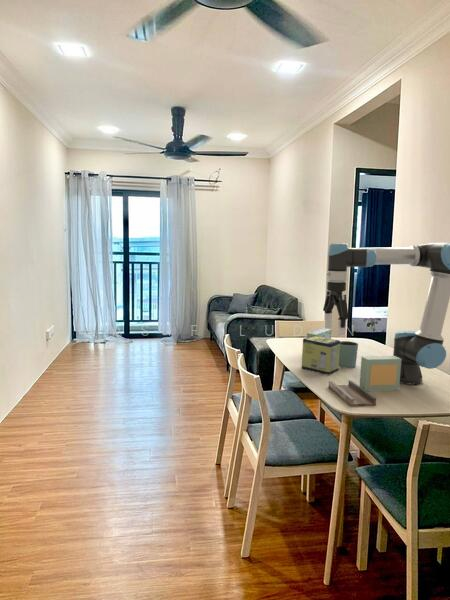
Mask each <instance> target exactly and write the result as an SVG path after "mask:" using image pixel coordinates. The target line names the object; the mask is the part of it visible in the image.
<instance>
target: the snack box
mask: <svg viewBox="0 0 450 600" xmlns="http://www.w3.org/2000/svg"><path fill="white" fill-rule="evenodd" d="M332 332H333V331H332V328H331V329H325V327H322V328H319V329H317V330H316V329H315V330H313V331H309V332H307V333H306V338H308V337H311V336H316V337H322V338H328V339H332Z"/></svg>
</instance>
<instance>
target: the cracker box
mask: <svg viewBox="0 0 450 600" xmlns="http://www.w3.org/2000/svg"><path fill="white" fill-rule="evenodd" d="M360 358H361V361H360V373H359V374H360V375H359V384H358V386H360V387H361V388H363V389H364V390H365V391H367V392H373V390H374V391H375V390H381V391H399V390H400V384H401V383H400V371H401V360H402V359H401V358H399V357H396V356H393V355H380V356H379V355H377V356H376V355H375V356H371V355H369V356H364V355H363V356H361V357H360ZM371 390H372V391H371ZM375 392H376V391H375Z"/></svg>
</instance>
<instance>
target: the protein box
mask: <svg viewBox="0 0 450 600" xmlns="http://www.w3.org/2000/svg"><path fill="white" fill-rule="evenodd" d="M340 342H341V340H339V339H332V338H331V339H328V338H322V337H316V336H311V337H308V338H307V337H305V338H302V354H301V355H302V357H301V370H305V369H306V371H309V370H310V371H311V372H313V371H314V373H317V372H318V374H323V375H326V376H331V375H332V374H334V373H337V372H338V371H339V369H340V366H339V350H340ZM310 371H309V372H310Z"/></svg>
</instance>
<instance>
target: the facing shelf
mask: <svg viewBox="0 0 450 600" xmlns="http://www.w3.org/2000/svg"><path fill="white" fill-rule="evenodd" d="M328 388H329V389H330V390H331V392H333V393H334V392H335V394H336V395H337V396H338V397H339V399H341V400H342V401H344V402H345V403H346V404H347V405H348V406H350V407H370V406H371V407H374V406H375V407H376V405H377V398H376V397H375V396H374V395H373V394H371V393H370V392H369V391H365V390H364V389H363V388H361V387H360V386H359V384H357V383H355V382H354V381H353V380H348V384H336V383H335V382H334V381H332V380H329V381H328Z"/></svg>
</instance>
